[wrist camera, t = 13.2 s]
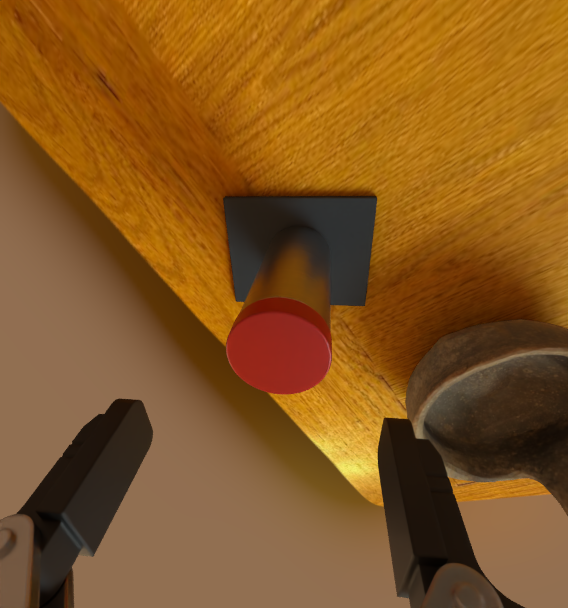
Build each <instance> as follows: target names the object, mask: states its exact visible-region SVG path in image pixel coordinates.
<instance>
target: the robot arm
mask: <svg viewBox="0 0 568 608" xmlns="http://www.w3.org/2000/svg"><path fill="white" fill-rule="evenodd" d="M152 437H153V430H152V426H151V424H150V421H149V418H148V415H147V413H146V410H145V407H144V404H143V403H142V401H140V400H131V399H117V400H115V401H114V402H113V403H112V404H111V406H110V407H109V408H108V410H107V411H106V413H105V414H99V415H97V416H96V417H95V418H94V419H92V420H91V421H90V422H89V423H87V424H86V425H85V426H84V427H83V428H82V429H81V431H80V432H79V433H78V435H77V436H76V437H75V439H74V440H73V441H72V444H71V445H69V446H68V448H67V449H66V450H65V452H64V453H63V456H62V457H60V458H59V460H58V461H57V462H56V464H55V465H54V466H53V468H52V469H51V470H50V472H49V473H48V474H47V475H46V477H45V478H44V479H43V481H42V482H41V483H40V485H39V486H38V487H37V489H36V490H35V492H34V493H33V494H32V495H31V497H30V498H29V499H28V501H27V502H26V503H25V505H24V506H23V507H22V508H21V509H20V510H19V511H18V512H17V514H14V515H11V516H8V517H5V518H3V519H1V520H0V608H74V585H73V570H72V565H73V564H74V562H75V560H76V558H77V556H78V555H85V556H92V557H93V556H94V554H95V552H96V550H97V548H98V546H99V544H100V543H101V541H102V539H103V537H104V535H105V533H106V531H107V529H108V527H109V525H110V523H111V521H112V519H113V517H114V515H115V513H116V512H117V510H118V508H119V506H120V504H121V502H122V500H123V498H124V496H125V494H126V492H127V490H128V488H129V486H130V484H131V482H132V481H133V479H134V477H135V475H136V473H137V471H138V469H139V467H140V465H141V463H142V461H143V459H144V457H145V455H146V453H147V452H148V450H149V448H150V445H151V442H152ZM378 468H379V475H380V482H381V489H382V495H383V502H384V509H385V516H386V522H387V529H388V536H389V543H390V550H391V557H392V564H393V570H394V577H395V584H396V591H397V596H398V597H405V598H409V599H410V606H411V608H525V607H523V606H521V605H519V604H517V603H515V602H513V601H511V600H510V599H508V598H507V597H506V596H504V595H503V594H502V593H501V592H500V591H498V590H497V589H496V588H495V587H494V586H493V585H492V584H491V582H490V581H489V580H488V579H487V577H486V576H485V575H484V573H483V572H482V570H481V569H480V567H479V565H478V563H477V560H476V558H475V556H474V553H473V549H472V546H471V543H470V541H469V538H468V534H467V531H466V528H465V525H464V522H463V520H462V516H461V513H460V510H459V507H458V504H457V501H456V498H455V495H454V494H453V489H452V486H451V483H450V480H449V478H448V476H447V475H448V474H447V471H446V468H445V465H444V462H443V459H442V456H441V455H440V453H439V452H438V451H437V449H436V448H435V447H434V445H433V444H432V443H431V442H430V440H429V439H417V438H416V437H415V433H414V430H413V426H412V423H411V421H410V420H409V419H398V418H384V420H383V425H382V430H381V435H380V440H379V446H378Z"/></svg>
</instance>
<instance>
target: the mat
mask: <svg viewBox="0 0 568 608" xmlns="http://www.w3.org/2000/svg"><path fill="white" fill-rule="evenodd" d="M223 201H224V209H225V217H226V225H227V233H228V241H229V249H230V257H231V265H232V273H233V281H234V289H235V298H236V301H237V302H245V300H246V298H247V295H248V293H249V291H250V289H251V286H252V284H253V282H254V280H255V277H256V275H257V273H258V271H259V268H260V266H261V264H262V261H263V259H264V257H265V255H266V252H267V250H268V248H269V246H270V243H271V241H272V240H273V238H274V237H275V236H276V235H277V234H278V233H279V232H280V231H282V230H284V229H286V228H288V227H292V226H305V227H309V228H312V229H314V230H316V231H317V232H319V233H320V234H321V235H322V236H323V237H324V238H325V240H326V241H327V243H328V246H329V249H330V305H348V306H365V300H366V292H367V283H368V274H369V265H370V257H371V248H372V239H373V230H374V222H375V213H376V204H377V197H376V196H246V197H224V198H223Z"/></svg>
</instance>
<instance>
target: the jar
mask: <svg viewBox="0 0 568 608" xmlns="http://www.w3.org/2000/svg"><path fill="white" fill-rule="evenodd" d="M226 353H227V357H228V360H229V363H230V365H231V367H232V368H233V370H234V371H235V372H236V374H237V375H238V376H239V377H240V378H241V379H243V380H244V381H245V382H246V383H248V384H249V385H251V386H253V387H255V388H257V389H259V390H262V391H265V392H269V393H274V394H294V393H300V392H303V391H306V390H308V389H310V388H312V387H314V386H315V385H317V384H318V383H319V382H320V381H321V380H322V379H323V378H324V377H325V376H326V374H327V373H328V371H329V369H330V365H331V361H332V338H331V319H330V249H329V246H328V243H327V241H326V240H325V238H324V237H323V236H322V235H321V234H320V233H319V232H317V231H316V230H314V229H312V228H309V227H305V226H292V227H288V228H286V229H284V230H282V231H280V232H279V233H278V234H277V235H276V236H275V237H274V238H273V240H272V241H271V243H270V246H269V248H268V250H267V252H266V255H265V257H264V259H263V261H262V264H261V266H260V268H259V271H258V273H257V275H256V277H255V280H254V282H253V284H252V286H251V289H250V291H249V293H248V295H247V298H246V300H245V302H244V305H243V307H242V309H241V311H240V314H239V315H238V316H237V318H236V320H235V322H234V324H233V327H232V329H231V331H230V333H229V336H228V338H227V343H226Z"/></svg>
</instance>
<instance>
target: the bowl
mask: <svg viewBox="0 0 568 608" xmlns="http://www.w3.org/2000/svg"><path fill="white" fill-rule="evenodd" d="M405 403H406V409H407V418H408V419H409V420H410V421H411V423H412V426H413V430H414V433H415V437H416V438H417V439H429V440H430V442H431V443H432V444H433V445H434V447H435V448H436V449H437V451H438V452H439V453H440V455H441V456H442V459H443V462H444V465H445V468H446V471H447V474H448V475H447V476H448V477H451V478H455V479H459V480H467V481H476V482H496V481H502V480H514V479H521V478H530V479H534V480H536V481H538V482H540V483H541V484H543V485H544V486H545V487H546V488H547V490H548V491H549V492H550V493H551V494H552V495H553V496H554V497H555V498H556V500H557V501H558V502H559V503H560V505H561V506H562V508H563V509H564V511H565V512H566V514H567V515H568V329H567V328H564V327H561V326H557V325H553V324H549V323H544V322H538V321H532V320H524V319H517V320H508V321H499V322H492V323H486V324H480V325H475V326H471V327H468V328H465V329H462V330H459V331H457V332H454V333H451V334H448V335H446V336H443V337H441V338H440V339H439V340H438V341H437V342H436V343H435V345H434V346H433V347H432V348H431V349H430V350H429V351H428V352H427V354H426V355H425V356H424V357H423V358H422V359H421V361H420V362H419V363H418V365H417V366H416V368H415V369H414V371H413V373H412V375H411V377H410V379H409V383H408V387H407V392H406V402H405Z"/></svg>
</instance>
